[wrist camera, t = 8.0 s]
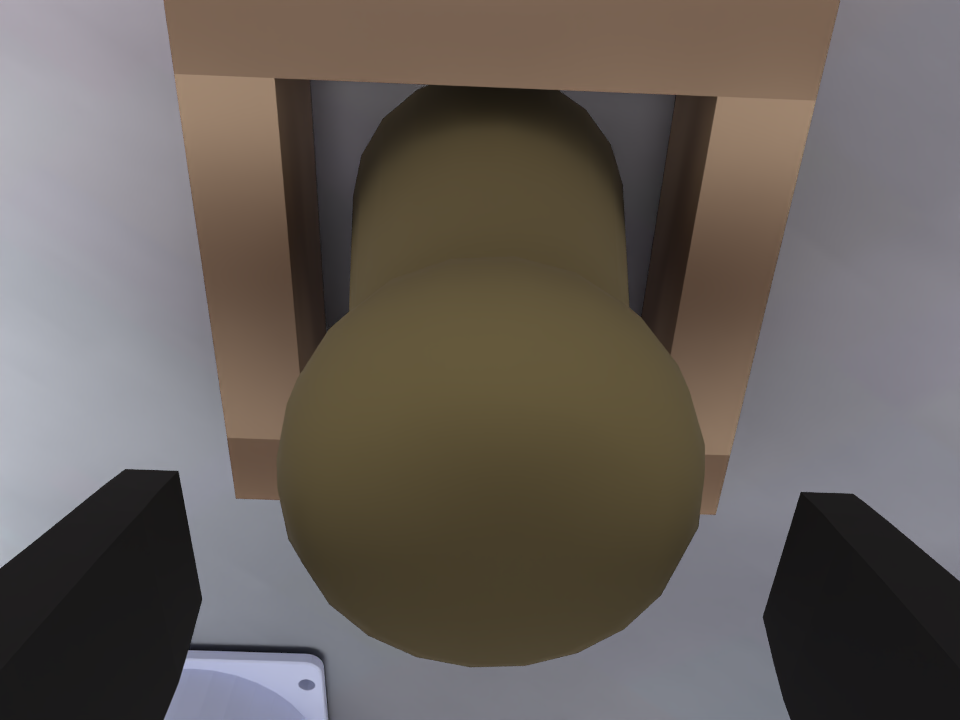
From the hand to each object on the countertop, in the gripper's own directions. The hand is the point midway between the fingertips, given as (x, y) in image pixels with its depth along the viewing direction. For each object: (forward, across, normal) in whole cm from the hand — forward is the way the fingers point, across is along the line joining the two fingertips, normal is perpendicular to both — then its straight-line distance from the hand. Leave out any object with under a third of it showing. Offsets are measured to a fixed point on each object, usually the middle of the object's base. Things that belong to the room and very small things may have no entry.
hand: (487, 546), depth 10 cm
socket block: (+10, 0, 0) cm, 10 cm away
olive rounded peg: (+10, 0, 0) cm, 10 cm away
